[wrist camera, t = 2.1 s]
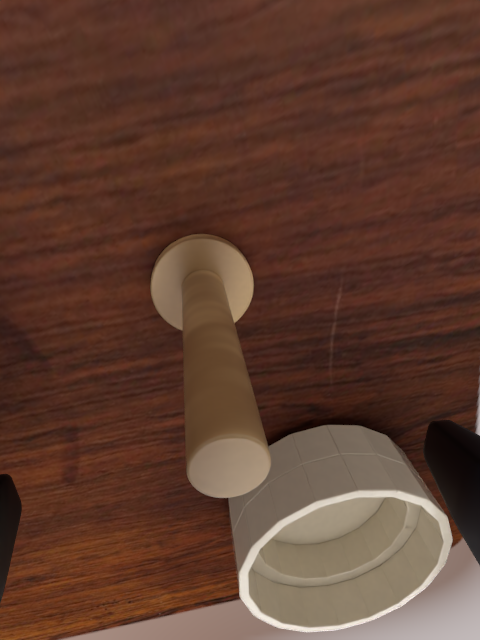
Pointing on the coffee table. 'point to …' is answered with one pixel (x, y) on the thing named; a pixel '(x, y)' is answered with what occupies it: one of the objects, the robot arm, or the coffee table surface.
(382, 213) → the coffee table surface
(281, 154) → the coffee table surface
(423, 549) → the bowl
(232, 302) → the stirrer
